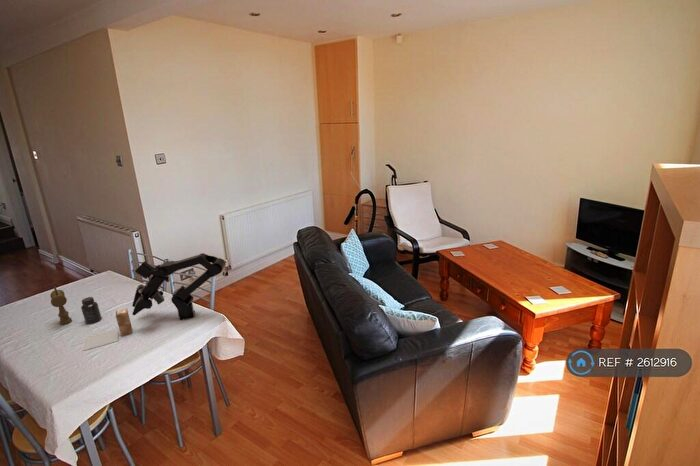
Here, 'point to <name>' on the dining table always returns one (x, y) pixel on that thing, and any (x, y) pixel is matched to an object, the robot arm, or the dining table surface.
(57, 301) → the kendama
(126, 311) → the walnut block
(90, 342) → the felt pad
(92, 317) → the supplement bottle
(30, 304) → the dining table surface
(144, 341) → the dining table surface
